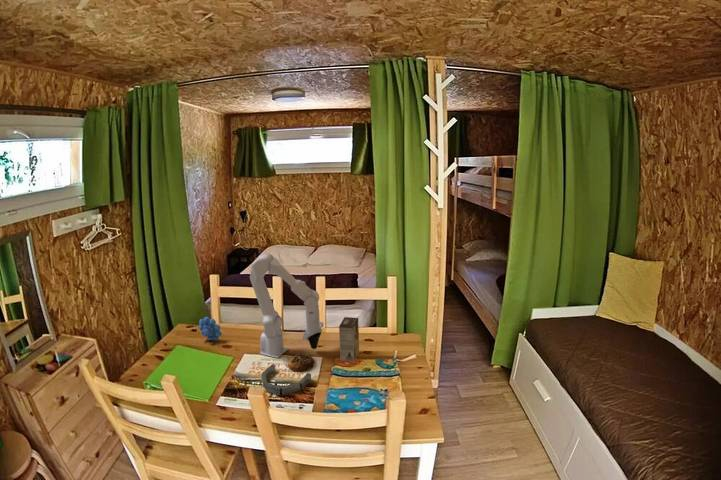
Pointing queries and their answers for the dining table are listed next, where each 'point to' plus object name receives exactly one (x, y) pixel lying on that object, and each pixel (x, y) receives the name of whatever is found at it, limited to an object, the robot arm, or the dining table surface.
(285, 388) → the collar
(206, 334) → the grapes
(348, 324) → the coffee box
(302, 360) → the bread roll
